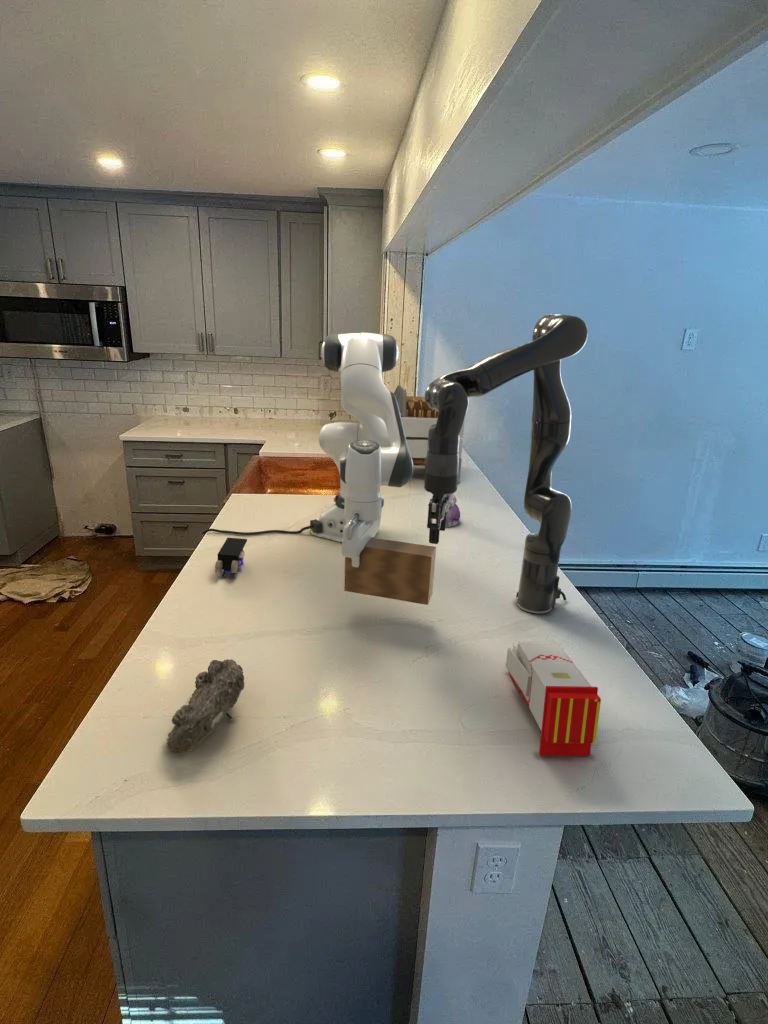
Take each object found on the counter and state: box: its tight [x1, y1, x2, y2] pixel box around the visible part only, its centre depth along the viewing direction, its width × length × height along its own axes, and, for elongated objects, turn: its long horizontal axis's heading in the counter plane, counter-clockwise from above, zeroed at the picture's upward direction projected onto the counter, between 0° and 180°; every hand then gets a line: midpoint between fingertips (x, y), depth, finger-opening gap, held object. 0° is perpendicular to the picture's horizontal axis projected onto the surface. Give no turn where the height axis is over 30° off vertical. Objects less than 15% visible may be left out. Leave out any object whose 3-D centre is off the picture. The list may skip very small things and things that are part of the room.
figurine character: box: [214, 537, 248, 578], centre depth 166 cm, size 7×8×15 cm
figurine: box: [445, 492, 461, 528], centre depth 209 cm, size 9×10×15 cm
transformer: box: [393, 384, 465, 484], centre depth 268 cm, size 34×33×41 cm
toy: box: [505, 641, 602, 757], centre depth 113 cm, size 12×13×30 cm
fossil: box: [166, 658, 245, 754], centre depth 106 cm, size 22×10×15 cm
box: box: [343, 537, 437, 606], centre depth 141 cm, size 22×6×13 cm, turn 75°
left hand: (360, 559), depth 142 cm, fingers closed on box, 6 cm apart
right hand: (437, 536), depth 134 cm, fingers open, 8 cm apart
